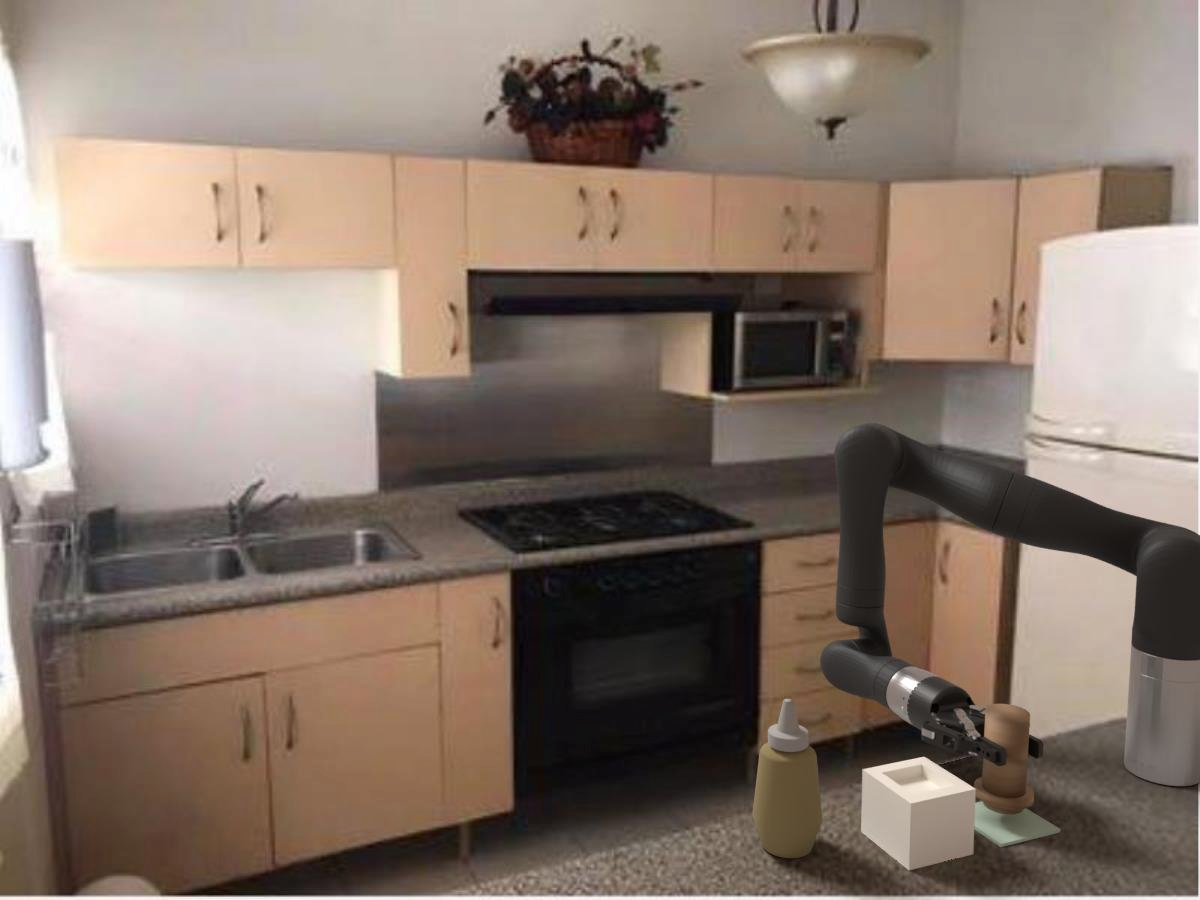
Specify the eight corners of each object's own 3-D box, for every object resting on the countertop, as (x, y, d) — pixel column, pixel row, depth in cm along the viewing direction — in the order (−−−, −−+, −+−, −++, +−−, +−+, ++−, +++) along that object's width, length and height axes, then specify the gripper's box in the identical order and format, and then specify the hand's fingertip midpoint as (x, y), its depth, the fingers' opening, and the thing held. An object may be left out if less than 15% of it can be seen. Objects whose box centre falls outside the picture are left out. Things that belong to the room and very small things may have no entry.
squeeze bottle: (749, 860, 113) (750, 711, 110) (755, 825, 121) (756, 685, 118) (821, 869, 111) (823, 717, 109) (822, 832, 119) (825, 690, 116)
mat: (1005, 798, 126) (1005, 795, 126) (1060, 832, 118) (1060, 829, 118) (948, 811, 123) (948, 808, 123) (1000, 847, 115) (1000, 844, 115)
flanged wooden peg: (1004, 787, 125) (1009, 697, 123) (1046, 812, 119) (1051, 718, 117) (961, 797, 123) (965, 705, 121) (1001, 823, 116) (1005, 727, 114)
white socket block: (922, 817, 122) (924, 756, 121) (973, 854, 114) (975, 788, 113) (861, 831, 119) (862, 769, 118) (908, 870, 110) (910, 803, 109)
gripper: (884, 683, 130) (975, 734, 114) (972, 668, 135) (1071, 715, 119) (883, 737, 131) (973, 795, 115) (970, 720, 136) (1067, 773, 120)
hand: (1022, 754), depth 117 cm, fingers closed on flanged wooden peg, 5 cm apart
